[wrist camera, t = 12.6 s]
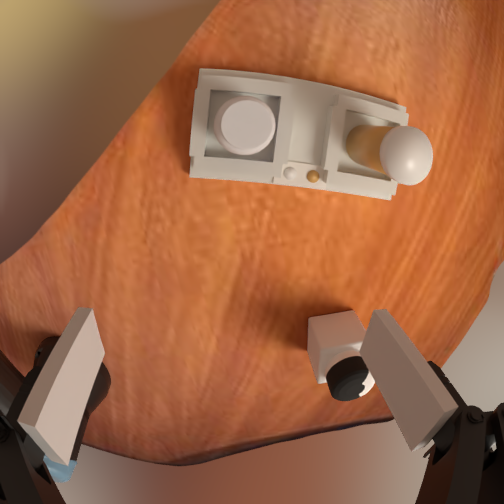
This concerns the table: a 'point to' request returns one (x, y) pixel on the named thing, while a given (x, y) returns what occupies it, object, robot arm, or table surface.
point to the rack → (310, 137)
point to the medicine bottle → (339, 354)
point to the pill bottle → (244, 125)
